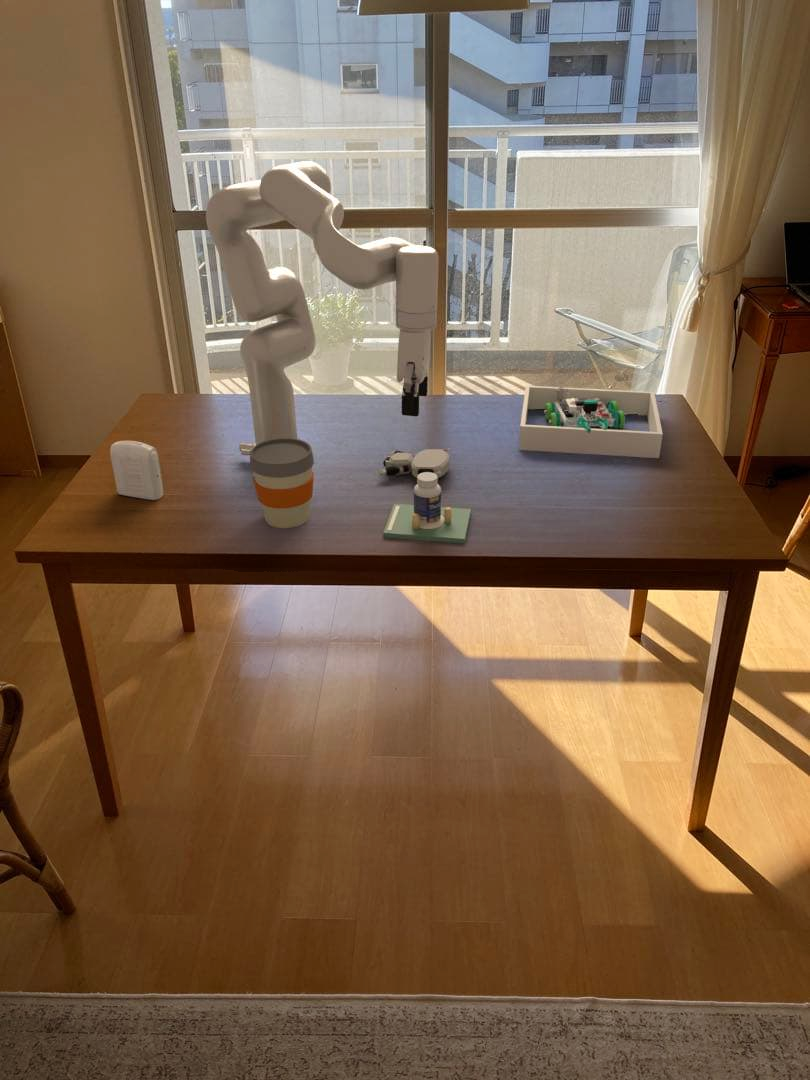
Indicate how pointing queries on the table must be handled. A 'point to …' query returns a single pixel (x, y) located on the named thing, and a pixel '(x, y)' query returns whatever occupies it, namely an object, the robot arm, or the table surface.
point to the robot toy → (417, 463)
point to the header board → (445, 530)
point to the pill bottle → (427, 499)
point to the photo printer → (136, 470)
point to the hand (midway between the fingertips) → (414, 405)
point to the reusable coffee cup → (283, 480)
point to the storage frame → (598, 438)
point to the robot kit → (583, 412)
